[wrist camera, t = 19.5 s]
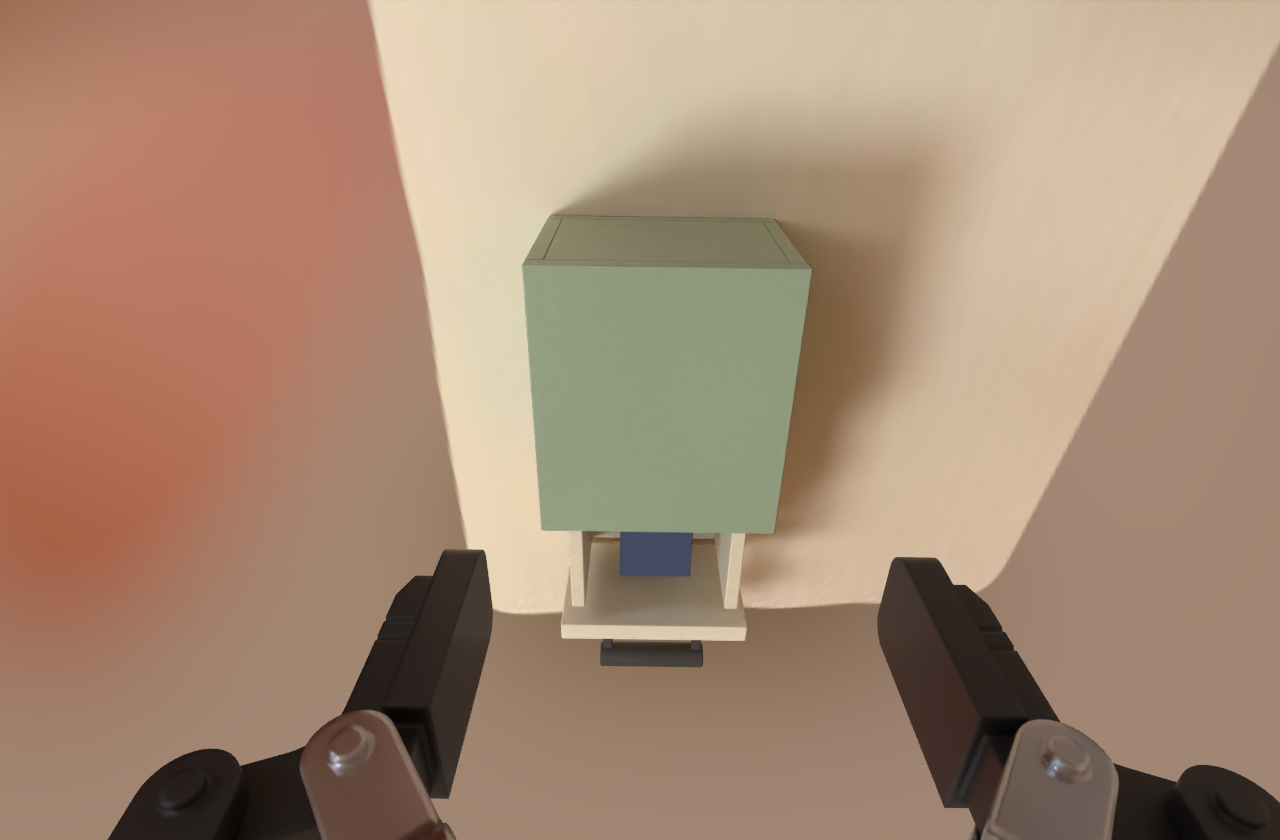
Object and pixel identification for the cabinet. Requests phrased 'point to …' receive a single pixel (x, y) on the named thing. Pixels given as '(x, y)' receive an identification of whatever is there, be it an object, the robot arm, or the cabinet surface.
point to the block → (655, 553)
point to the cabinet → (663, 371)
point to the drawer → (654, 602)
